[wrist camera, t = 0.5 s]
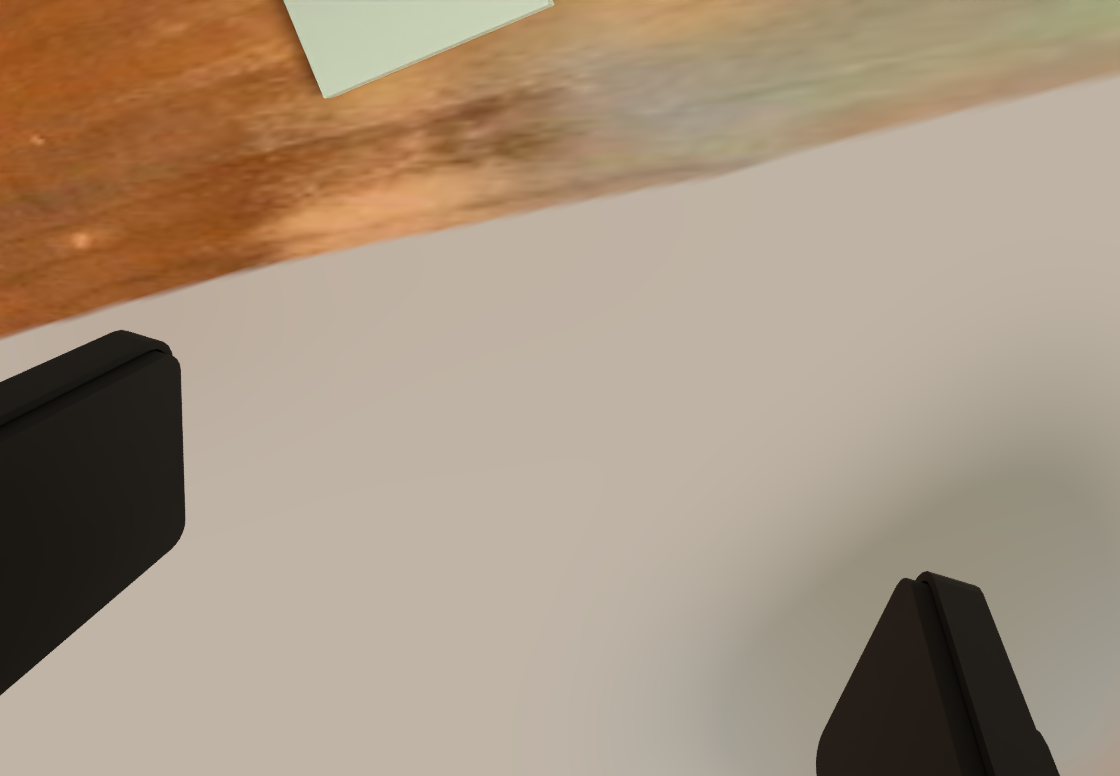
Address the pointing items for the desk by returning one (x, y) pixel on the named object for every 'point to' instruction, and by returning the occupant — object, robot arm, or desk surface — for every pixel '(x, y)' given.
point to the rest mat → (391, 33)
